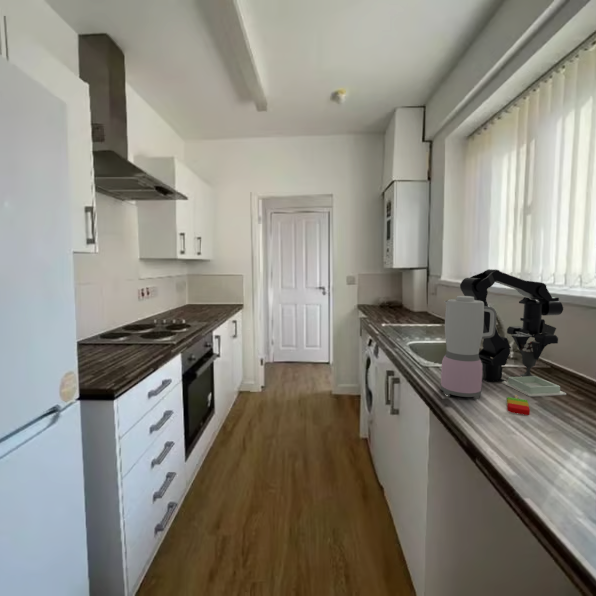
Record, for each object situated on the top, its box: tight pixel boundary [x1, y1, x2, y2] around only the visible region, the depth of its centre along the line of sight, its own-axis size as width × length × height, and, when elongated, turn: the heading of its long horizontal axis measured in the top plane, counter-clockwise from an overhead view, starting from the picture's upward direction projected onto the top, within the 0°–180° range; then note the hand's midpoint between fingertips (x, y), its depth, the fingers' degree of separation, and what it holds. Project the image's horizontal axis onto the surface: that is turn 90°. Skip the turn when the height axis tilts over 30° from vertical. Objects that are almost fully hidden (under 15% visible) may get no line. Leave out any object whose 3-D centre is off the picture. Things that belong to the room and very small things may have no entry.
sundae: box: [518, 341, 537, 377], centre depth 135 cm, size 7×7×15 cm
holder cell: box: [501, 375, 567, 397], centre depth 123 cm, size 13×13×2 cm
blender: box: [439, 295, 497, 401], centre depth 116 cm, size 16×12×32 cm
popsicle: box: [506, 394, 531, 416], centre depth 109 cm, size 6×15×2 cm, turn 151°
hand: (529, 357), depth 135 cm, fingers closed on sundae, 6 cm apart
